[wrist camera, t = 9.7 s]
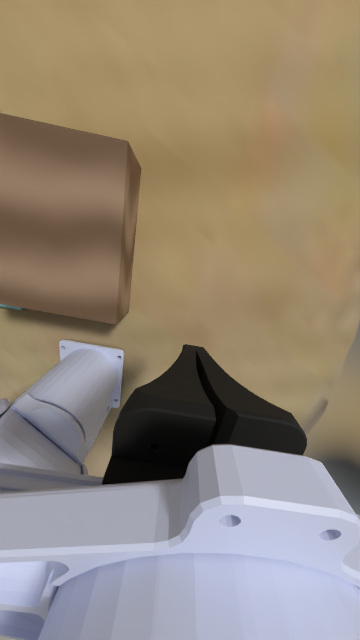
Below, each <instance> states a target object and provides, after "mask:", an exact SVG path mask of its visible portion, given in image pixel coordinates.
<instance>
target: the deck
mask: <svg viewBox="0 0 360 640" xmlns="http://www.w3.org/2000/svg"><path fill="white" fill-rule="evenodd" d="M140 175H141V167H140V165H139V163H138V161H137V159H136V157H135V155H134V153H133V151H132V149H131V147H130V145H129V143H128V141H125V140H120V139H116V138H111V137H107V136H102V135H98V134H93V133H88V132H84V131H79V130H75V129H70V128H66V127H61V126H56V125H52V124H47V123H43V122H38V121H34V120H29V119H24V118H20V117H15V116H11V115H6V114H2V113H0V304H3V305H9V306H14V307H20V308H26V309H31V310H37V311H42V312H48V313H54V314H59V315H65V316H71V317H76V318H82V319H87V320H93V321H99V322H104V323H110V324H115V325H116V324H117V323H118V322H119V321H120V320H121V319H122V318H123V317H124V316H125V315H126V314H127V313H128V312H129V300H130V289H131V278H132V266H133V255H134V243H135V232H136V221H137V209H138V198H139V186H140Z"/></svg>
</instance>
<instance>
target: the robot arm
mask: <svg viewBox="0 0 360 640" xmlns="http://www.w3.org/2000/svg"><path fill="white" fill-rule="evenodd" d="M63 346H64V347H65V348H64V347H63ZM59 349H60V362H59V363H58V364H57V365H56V366H54V367H53V368H52V369H51V370H50V371H49V372H47V373H46V374H45V375H44V376H43V377H41V378H40V379H39V380H38V381H37V382H36V383H34V384H33V385H32V386H31V387H30V388H29V389H27V390H26V391H25V392H24V393H23V394H21V395H20V396H19V397H18V398H17V399H16V400H14V401H13V402H12V403H10V402H9V401H8V400H7V399H6V398H3V399H0V636H3V637H7V638H12V639H17V640H360V515H357V514H355V513H354V511H353V509H352V508H351V506H350V505H349V503H348V502H347V500H346V499H345V498H344V496H343V494H342V493H341V491H340V490H339V488H338V487H337V485H336V484H335V482H334V481H333V479H332V478H331V476H330V475H329V473H328V472H327V470H326V469H325V467H324V466H323V464H322V463H321V462H319V461H316V460H313V459H311V458H308V457H306V456H303V453H304V451H305V449H306V446H307V438H306V435H305V433H304V431H303V430H302V428H301V427H300V425H299V424H298V422H297V421H296V419H295V418H294V417H293V415H292V414H291V413H289V412H287V411H285V410H283V409H281V408H279V407H277V406H275V405H273V404H271V403H269V402H267V401H266V400H264V399H262V398H260V397H259V396H257V395H255V394H254V393H252V392H250V391H249V390H248V389H246V388H245V387H243V386H242V385H240V384H239V383H238V382H236V381H235V380H234V379H233V378H232V377H230V376H229V375H228V374H227V373H226V372H225V371H224V370H223V369H222V368H221V367H220V366H219V365H218V364H217V363H216V362H215V361H214V360H213V358H212V357H211V356H210V355H209V354H208V353H207V351H206V350H205V349H204V348H203V347H198V346H192V345H187V344H185V345H183V349H182V352H181V354H180V356H179V357H178V359H177V360H176V361H175V362H174V364H173V365H172V366H171V367H170V368H169V369H168V370H167V371H166V372H165V373H163V374H162V375H161V376H160V377H158V378H157V379H155V380H153V381H152V382H150V383H148V384H146V385H143V386H141V387H138V388H136V389H135V390H134V392H133V393H132V394H131V396H130V397H129V399H128V400H127V402H126V403H125V405H124V406H123V408H122V410H121V412H120V414H119V417H118V419H117V421H116V424H115V427H114V431H113V443H112V456H111V459H110V461H109V464H108V467H107V470H106V472H105V475H104V478H102V477H95V476H89V475H88V470H87V467H86V466H85V465H84V464H83V462H84V460H85V458H86V456H87V454H88V452H89V450H90V449H91V448H92V446H93V444H94V442H95V440H96V438H97V436H98V434H99V432H100V430H101V428H102V426H103V423H104V421H105V419H106V417H107V415H108V413H109V411H110V409H111V408H118V407H119V405H120V397H121V386H122V374H123V363H124V351H123V350H121V349H116V348H110V347H104V346H98V345H93V344H87V343H81V342H75V341H70V340H61V341H60V342H59ZM118 356H121V358H120V357H118Z"/></svg>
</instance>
